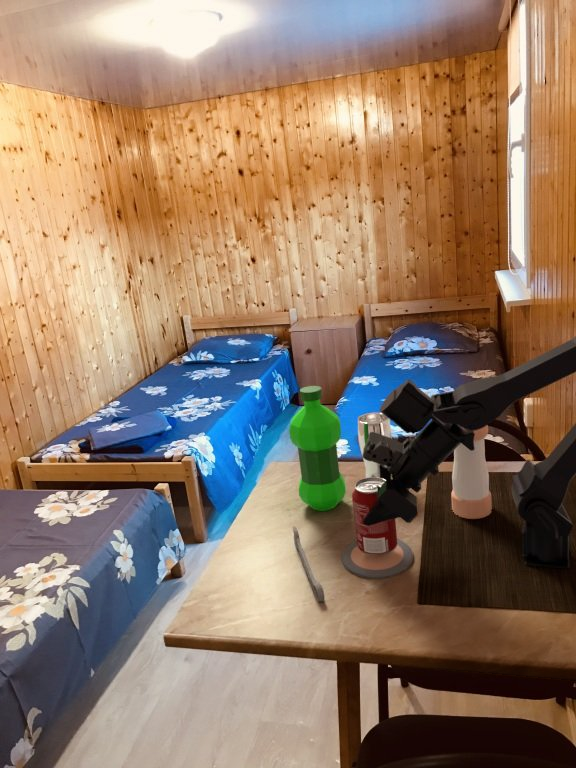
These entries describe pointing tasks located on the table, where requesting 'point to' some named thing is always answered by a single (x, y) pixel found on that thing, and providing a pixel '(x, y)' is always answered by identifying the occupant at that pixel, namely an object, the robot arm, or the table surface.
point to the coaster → (377, 561)
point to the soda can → (378, 535)
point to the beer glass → (365, 426)
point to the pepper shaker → (471, 480)
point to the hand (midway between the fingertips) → (366, 513)
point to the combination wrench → (308, 569)
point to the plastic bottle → (317, 451)
